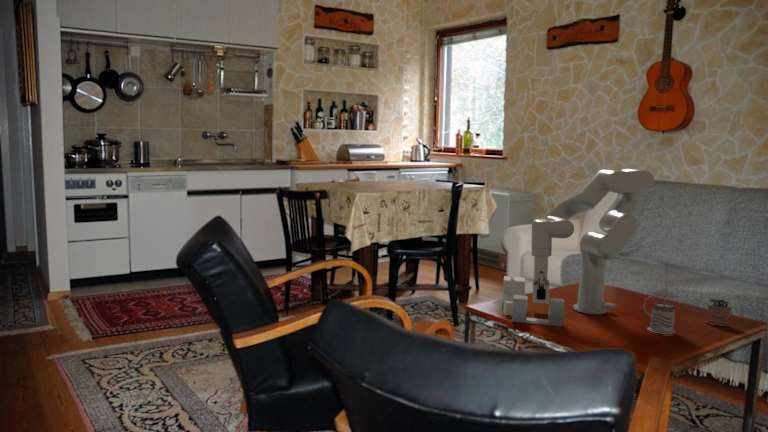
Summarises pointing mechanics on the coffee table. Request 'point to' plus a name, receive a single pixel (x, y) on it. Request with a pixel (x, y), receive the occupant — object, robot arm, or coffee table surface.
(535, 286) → the module
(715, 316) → the lighter
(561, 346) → the coffee table surface
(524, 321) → the grey u-shaped block
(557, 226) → the robot arm
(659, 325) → the french press
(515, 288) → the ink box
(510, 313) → the block
